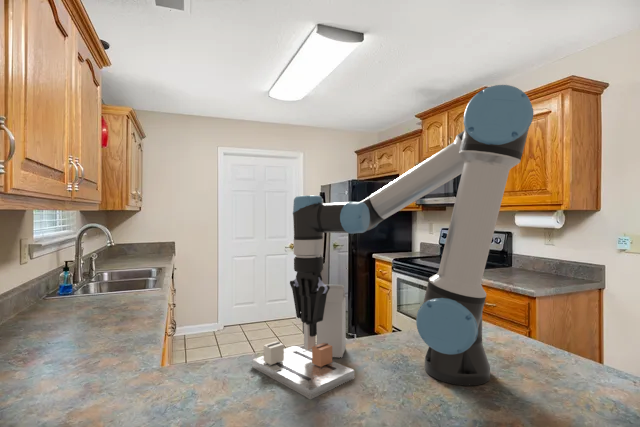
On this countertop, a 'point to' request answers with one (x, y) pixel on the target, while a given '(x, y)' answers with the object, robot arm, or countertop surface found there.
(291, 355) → the console
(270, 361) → the block
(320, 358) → the fader
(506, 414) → the countertop surface
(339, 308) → the milk carton
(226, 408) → the countertop surface
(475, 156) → the robot arm
